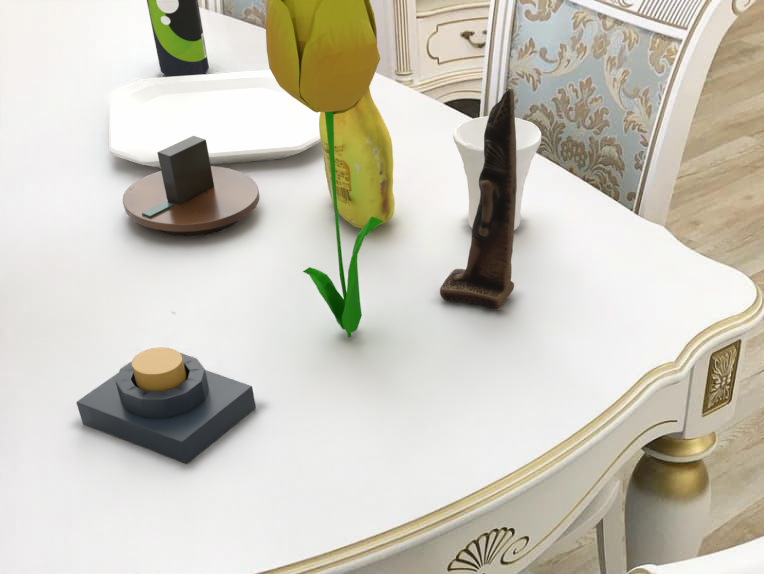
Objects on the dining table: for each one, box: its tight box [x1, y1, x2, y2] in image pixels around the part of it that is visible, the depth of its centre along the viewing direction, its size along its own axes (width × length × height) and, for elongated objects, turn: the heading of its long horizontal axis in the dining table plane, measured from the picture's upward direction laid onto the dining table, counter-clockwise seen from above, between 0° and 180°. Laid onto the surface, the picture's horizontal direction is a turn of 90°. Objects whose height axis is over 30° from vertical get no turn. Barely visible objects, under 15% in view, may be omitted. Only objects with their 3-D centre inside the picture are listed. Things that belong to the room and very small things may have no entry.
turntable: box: [122, 136, 260, 232], centre depth 115 cm, size 14×14×6 cm
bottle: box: [319, 87, 395, 230], centre depth 112 cm, size 12×6×20 cm, turn 25°
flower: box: [265, 0, 383, 338], centre depth 91 cm, size 9×8×30 cm
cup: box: [452, 115, 542, 231], centre depth 114 cm, size 9×9×10 cm
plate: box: [108, 69, 321, 169], centre depth 133 cm, size 25×25×2 cm
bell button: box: [131, 346, 186, 391], centre depth 90 cm, size 4×4×2 cm
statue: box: [439, 88, 517, 310], centre depth 100 cm, size 4×7×20 cm, turn 71°
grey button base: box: [76, 352, 257, 465], centre depth 91 cm, size 11×9×4 cm
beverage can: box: [146, 0, 210, 77], centre depth 140 cm, size 6×6×15 cm
